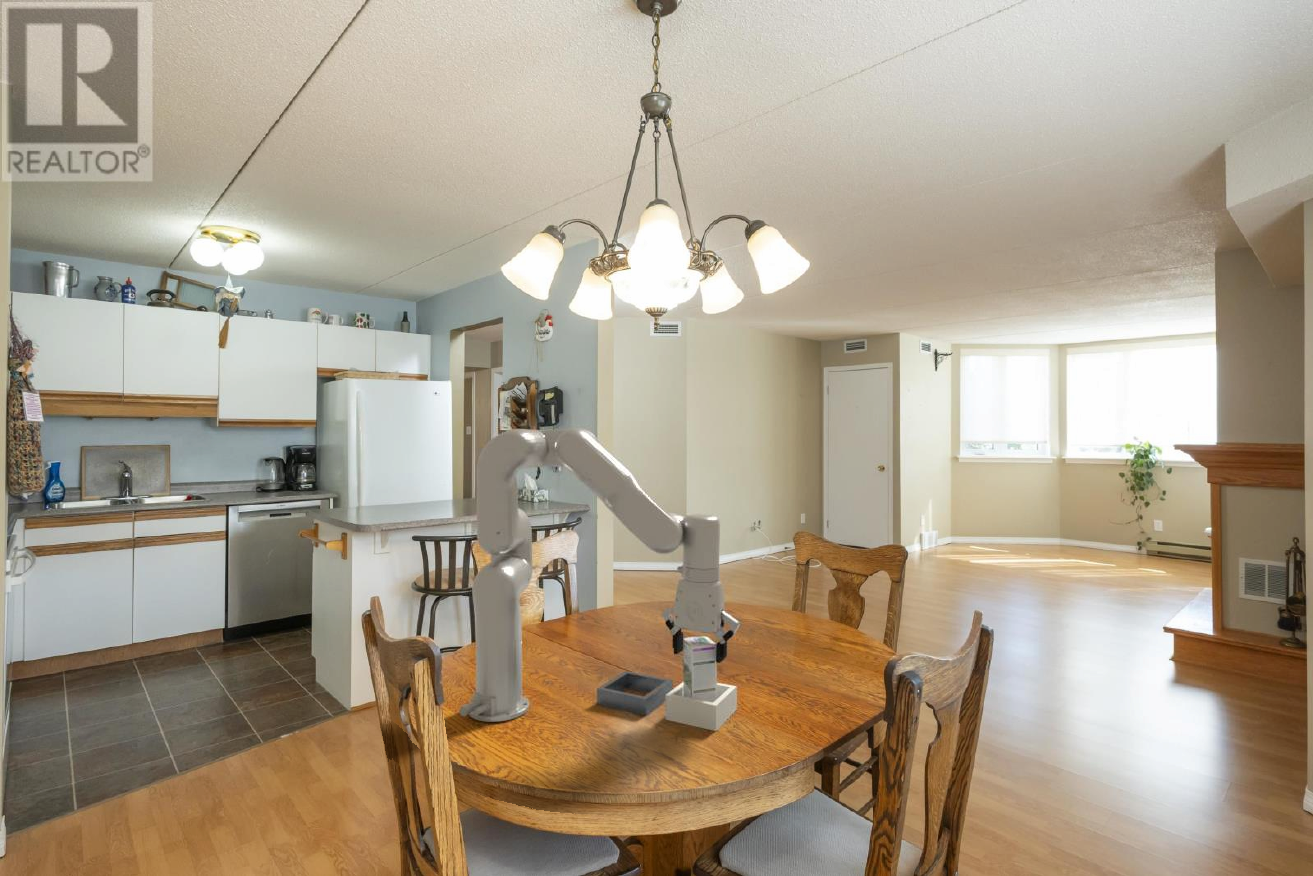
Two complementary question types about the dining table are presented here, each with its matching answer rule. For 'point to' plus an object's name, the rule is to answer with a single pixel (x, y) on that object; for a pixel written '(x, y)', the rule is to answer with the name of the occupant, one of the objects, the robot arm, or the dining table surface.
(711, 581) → the robot arm
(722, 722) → the cradle
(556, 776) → the dining table surface
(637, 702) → the gray square frame
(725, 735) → the dining table surface
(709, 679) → the syrup box
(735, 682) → the dining table surface
